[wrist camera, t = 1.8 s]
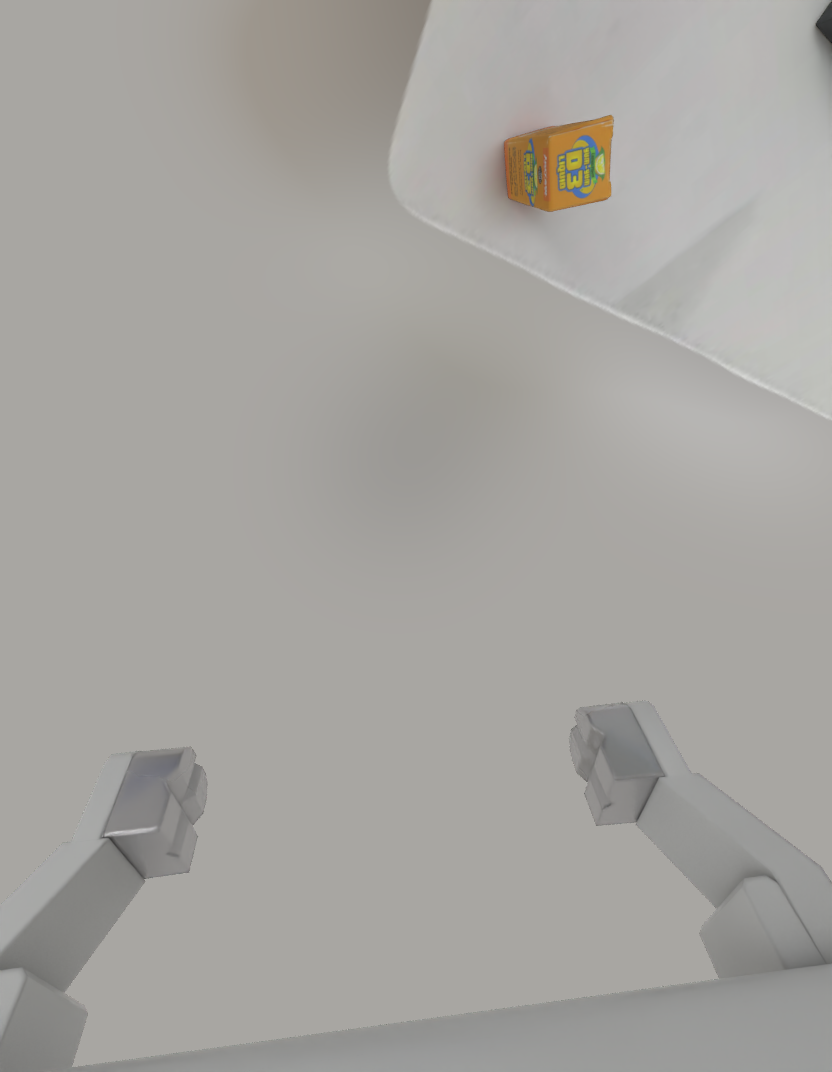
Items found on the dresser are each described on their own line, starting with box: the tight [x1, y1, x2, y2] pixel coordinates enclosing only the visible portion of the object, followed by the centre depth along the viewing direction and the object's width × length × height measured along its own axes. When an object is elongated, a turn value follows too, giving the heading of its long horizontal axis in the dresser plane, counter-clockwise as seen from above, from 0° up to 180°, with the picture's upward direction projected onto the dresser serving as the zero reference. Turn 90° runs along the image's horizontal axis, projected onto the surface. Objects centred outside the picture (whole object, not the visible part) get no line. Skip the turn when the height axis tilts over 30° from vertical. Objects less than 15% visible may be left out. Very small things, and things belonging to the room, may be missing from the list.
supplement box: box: [504, 115, 614, 212], centre depth 28 cm, size 3×4×10 cm
